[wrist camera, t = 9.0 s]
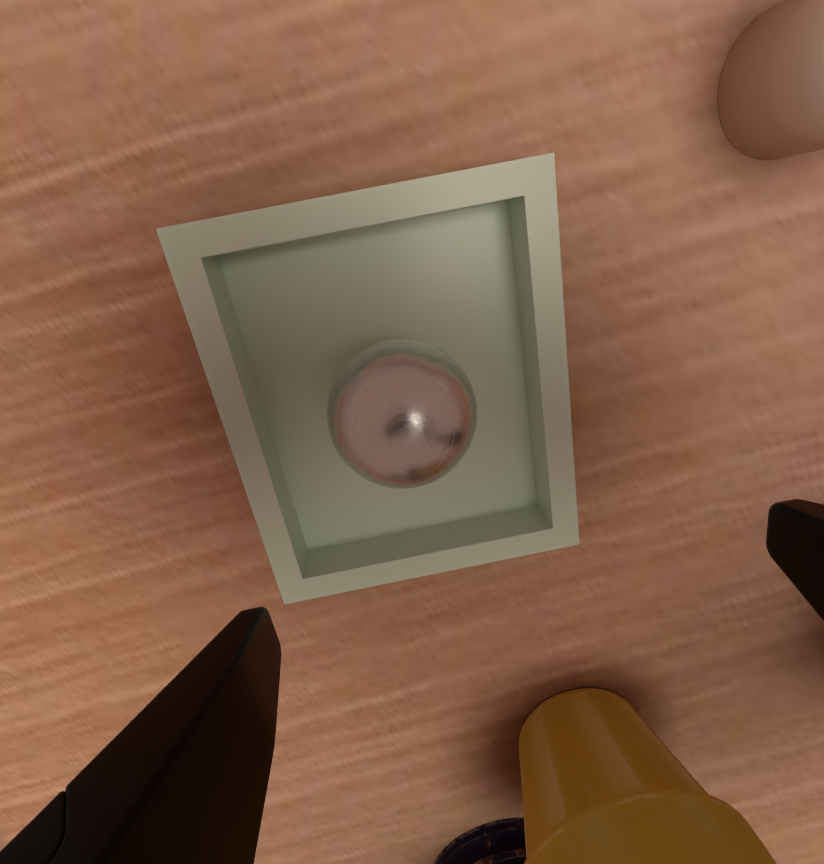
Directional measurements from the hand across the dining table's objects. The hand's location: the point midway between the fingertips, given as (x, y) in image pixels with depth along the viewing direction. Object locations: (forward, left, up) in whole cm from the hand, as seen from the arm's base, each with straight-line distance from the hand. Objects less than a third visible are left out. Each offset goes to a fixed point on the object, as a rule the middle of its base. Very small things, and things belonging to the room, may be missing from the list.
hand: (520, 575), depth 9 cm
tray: (0, +2, -12) cm, 12 cm away
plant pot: (-21, -4, -12) cm, 24 cm away
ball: (0, +2, -11) cm, 11 cm away
